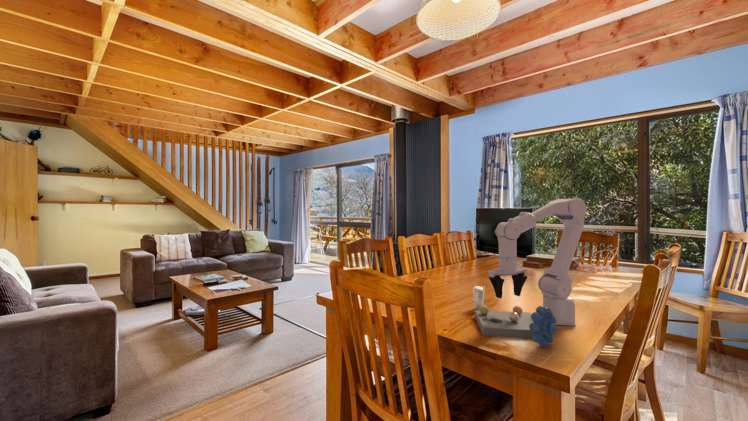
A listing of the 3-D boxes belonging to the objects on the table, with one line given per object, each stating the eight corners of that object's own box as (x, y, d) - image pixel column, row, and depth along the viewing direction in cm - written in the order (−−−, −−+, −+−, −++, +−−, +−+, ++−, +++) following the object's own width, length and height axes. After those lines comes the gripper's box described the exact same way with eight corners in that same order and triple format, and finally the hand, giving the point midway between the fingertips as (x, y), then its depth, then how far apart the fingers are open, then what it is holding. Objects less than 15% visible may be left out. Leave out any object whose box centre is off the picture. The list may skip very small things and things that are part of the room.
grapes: (546, 357, 87) (546, 312, 87) (523, 348, 93) (523, 306, 93) (569, 347, 93) (569, 305, 93) (546, 339, 99) (546, 300, 99)
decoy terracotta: (521, 313, 115) (521, 304, 115) (523, 316, 112) (523, 307, 112) (511, 313, 116) (511, 304, 116) (514, 316, 113) (513, 307, 113)
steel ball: (518, 320, 108) (518, 310, 108) (520, 323, 105) (520, 313, 105) (508, 319, 109) (507, 310, 109) (510, 323, 106) (510, 313, 106)
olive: (488, 313, 116) (487, 304, 116) (489, 316, 113) (489, 306, 113) (478, 312, 117) (478, 303, 117) (480, 315, 114) (480, 306, 114)
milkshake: (480, 312, 125) (480, 286, 125) (470, 308, 130) (470, 283, 130) (488, 310, 127) (488, 285, 127) (478, 307, 132) (478, 282, 132)
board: (529, 319, 117) (529, 312, 117) (547, 339, 99) (547, 331, 99) (475, 316, 120) (475, 310, 120) (483, 335, 102) (483, 327, 102)
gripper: (516, 254, 117) (516, 291, 117) (482, 256, 113) (482, 295, 113) (531, 257, 110) (531, 296, 110) (495, 259, 106) (496, 301, 106)
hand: (508, 296), depth 111 cm, fingers open, 7 cm apart
